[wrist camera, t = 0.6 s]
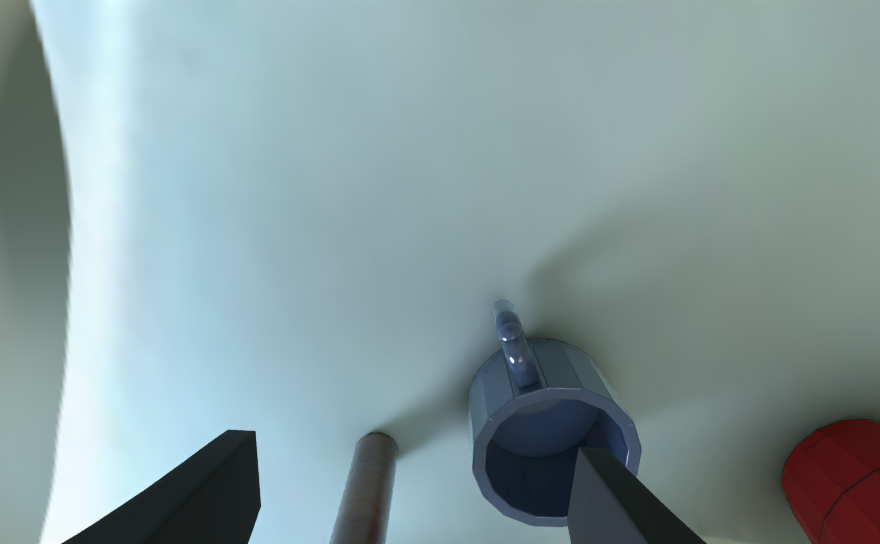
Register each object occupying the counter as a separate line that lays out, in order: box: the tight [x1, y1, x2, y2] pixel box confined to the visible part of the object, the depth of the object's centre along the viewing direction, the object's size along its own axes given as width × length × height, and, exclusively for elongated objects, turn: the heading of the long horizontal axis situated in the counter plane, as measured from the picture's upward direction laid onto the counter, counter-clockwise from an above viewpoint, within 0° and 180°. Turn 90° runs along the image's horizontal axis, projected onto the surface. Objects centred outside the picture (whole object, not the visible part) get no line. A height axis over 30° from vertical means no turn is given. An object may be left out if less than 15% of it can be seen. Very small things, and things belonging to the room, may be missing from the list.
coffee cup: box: [468, 300, 642, 527], centre depth 19 cm, size 9×6×4 cm
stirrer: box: [329, 434, 398, 544], centre depth 18 cm, size 2×2×10 cm
